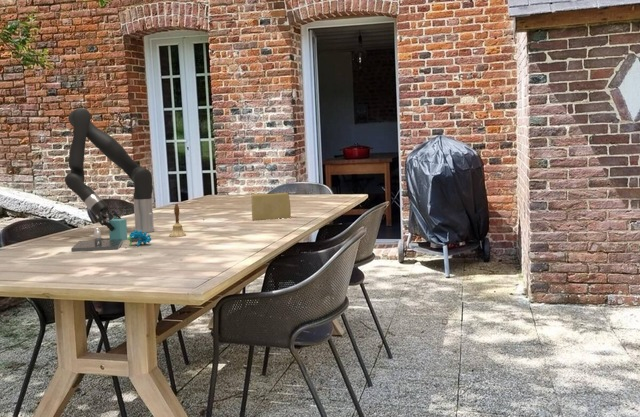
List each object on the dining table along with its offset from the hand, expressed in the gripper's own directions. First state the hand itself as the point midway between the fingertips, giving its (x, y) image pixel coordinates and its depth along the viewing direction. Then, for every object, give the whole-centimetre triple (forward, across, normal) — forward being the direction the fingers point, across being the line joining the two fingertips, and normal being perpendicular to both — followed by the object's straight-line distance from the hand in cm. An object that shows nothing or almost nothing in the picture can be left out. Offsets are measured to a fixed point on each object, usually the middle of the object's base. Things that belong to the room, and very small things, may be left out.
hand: (118, 228), depth 341 cm
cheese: (+39, +82, -31) cm, 95 cm away
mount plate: (+4, -18, +4) cm, 19 cm away
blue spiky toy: (+17, -11, -8) cm, 22 cm away
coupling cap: (+4, 0, +4) cm, 6 cm away
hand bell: (+20, +17, -12) cm, 29 cm away
